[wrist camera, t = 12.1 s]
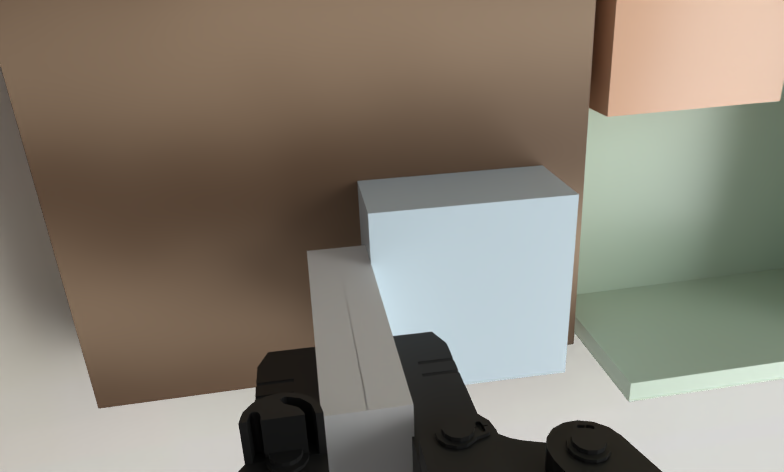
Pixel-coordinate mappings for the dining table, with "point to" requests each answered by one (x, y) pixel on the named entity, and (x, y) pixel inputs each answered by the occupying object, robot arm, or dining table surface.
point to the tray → (684, 248)
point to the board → (262, 153)
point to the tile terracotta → (685, 54)
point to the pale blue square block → (477, 264)
